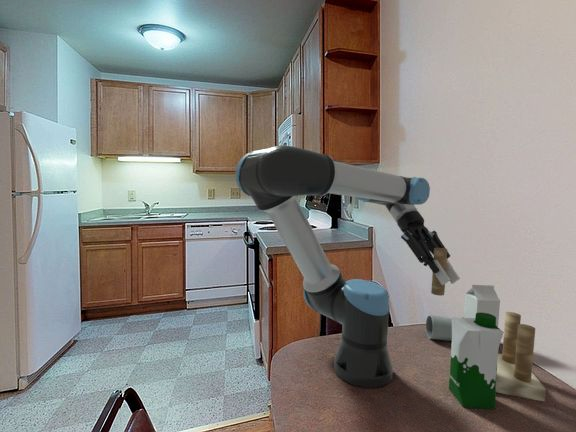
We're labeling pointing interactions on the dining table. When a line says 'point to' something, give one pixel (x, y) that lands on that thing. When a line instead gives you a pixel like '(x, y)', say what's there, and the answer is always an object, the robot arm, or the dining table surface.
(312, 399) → the dining table surface
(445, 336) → the ceramic mug
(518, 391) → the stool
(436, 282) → the loose leg
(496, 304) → the milk carton
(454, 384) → the soya milk
